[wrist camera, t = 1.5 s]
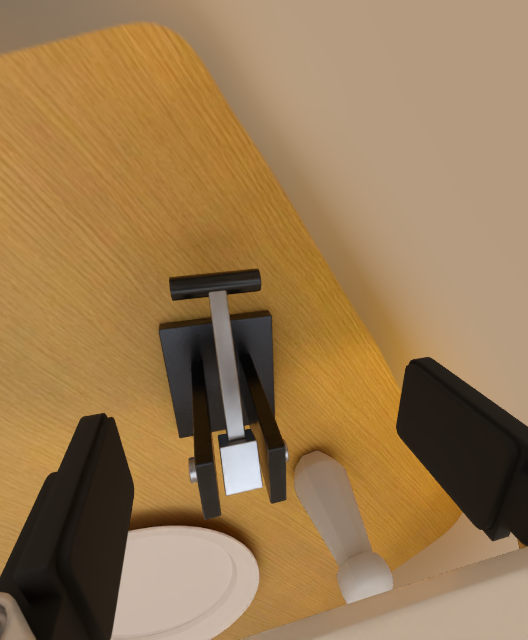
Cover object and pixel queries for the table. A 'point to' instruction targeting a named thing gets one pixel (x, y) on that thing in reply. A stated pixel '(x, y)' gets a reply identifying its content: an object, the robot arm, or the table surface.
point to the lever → (227, 372)
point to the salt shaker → (340, 526)
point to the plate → (182, 584)
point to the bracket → (206, 400)
